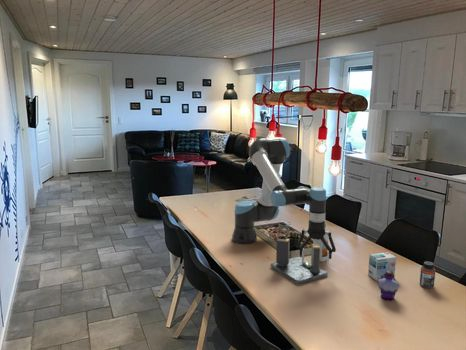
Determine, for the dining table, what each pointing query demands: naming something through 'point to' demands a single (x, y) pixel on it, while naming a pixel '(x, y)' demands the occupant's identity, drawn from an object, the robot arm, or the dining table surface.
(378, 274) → the light bulb box
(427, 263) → the supplement bottle
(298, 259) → the levelling plate
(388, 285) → the potion bottle
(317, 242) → the milk bottle
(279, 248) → the yellow-tipped grey bar
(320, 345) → the dining table surface
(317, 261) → the knob
